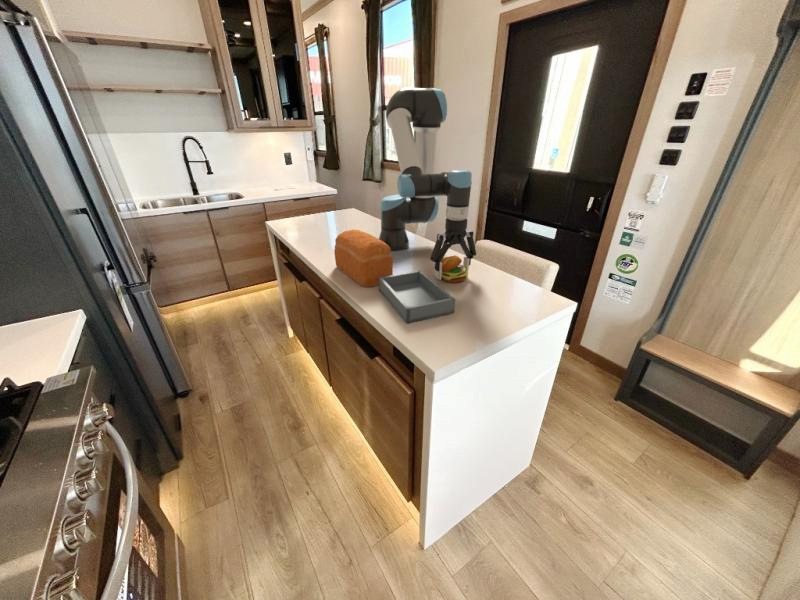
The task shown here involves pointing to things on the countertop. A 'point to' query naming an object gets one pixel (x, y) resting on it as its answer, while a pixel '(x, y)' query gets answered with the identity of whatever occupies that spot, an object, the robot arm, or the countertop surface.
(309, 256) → the countertop surface
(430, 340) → the countertop surface
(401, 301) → the box
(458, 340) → the countertop surface
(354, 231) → the bread
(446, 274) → the cheeseburger
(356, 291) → the countertop surface
